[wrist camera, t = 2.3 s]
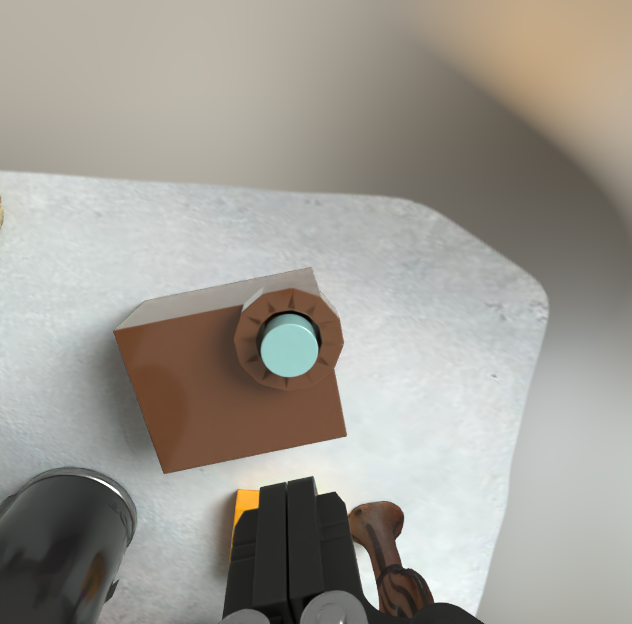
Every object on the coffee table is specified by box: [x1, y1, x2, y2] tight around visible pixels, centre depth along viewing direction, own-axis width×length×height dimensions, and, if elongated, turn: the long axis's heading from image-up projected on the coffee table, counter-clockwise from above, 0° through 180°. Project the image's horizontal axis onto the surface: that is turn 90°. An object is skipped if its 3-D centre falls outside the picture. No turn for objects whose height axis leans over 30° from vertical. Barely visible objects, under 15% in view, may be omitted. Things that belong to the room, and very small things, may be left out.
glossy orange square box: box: [228, 490, 259, 572], centre depth 36 cm, size 8×8×4 cm
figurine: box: [349, 501, 434, 618], centre depth 30 cm, size 7×5×18 cm
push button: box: [261, 314, 318, 377], centre depth 24 cm, size 3×3×2 cm
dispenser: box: [113, 267, 347, 474], centre depth 29 cm, size 13×11×8 cm
